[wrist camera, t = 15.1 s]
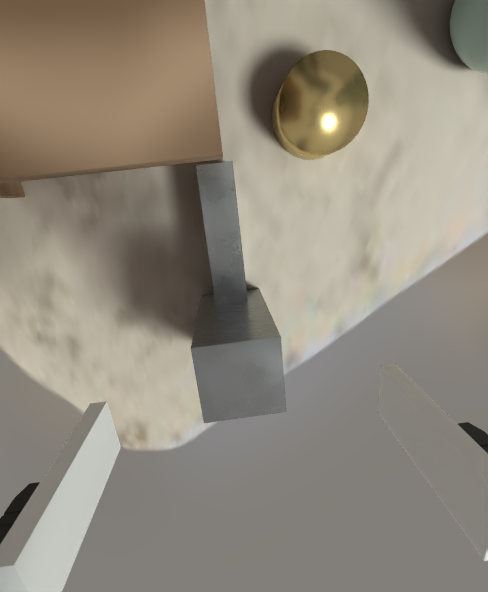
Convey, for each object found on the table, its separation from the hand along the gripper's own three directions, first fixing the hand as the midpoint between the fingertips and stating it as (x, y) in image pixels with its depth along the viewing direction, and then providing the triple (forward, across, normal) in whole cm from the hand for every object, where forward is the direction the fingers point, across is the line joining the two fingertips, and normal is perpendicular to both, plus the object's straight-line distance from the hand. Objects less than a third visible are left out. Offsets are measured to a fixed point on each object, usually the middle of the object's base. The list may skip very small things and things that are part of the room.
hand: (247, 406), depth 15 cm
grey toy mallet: (+13, 0, +4) cm, 14 cm away
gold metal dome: (+13, +7, +15) cm, 21 cm away
